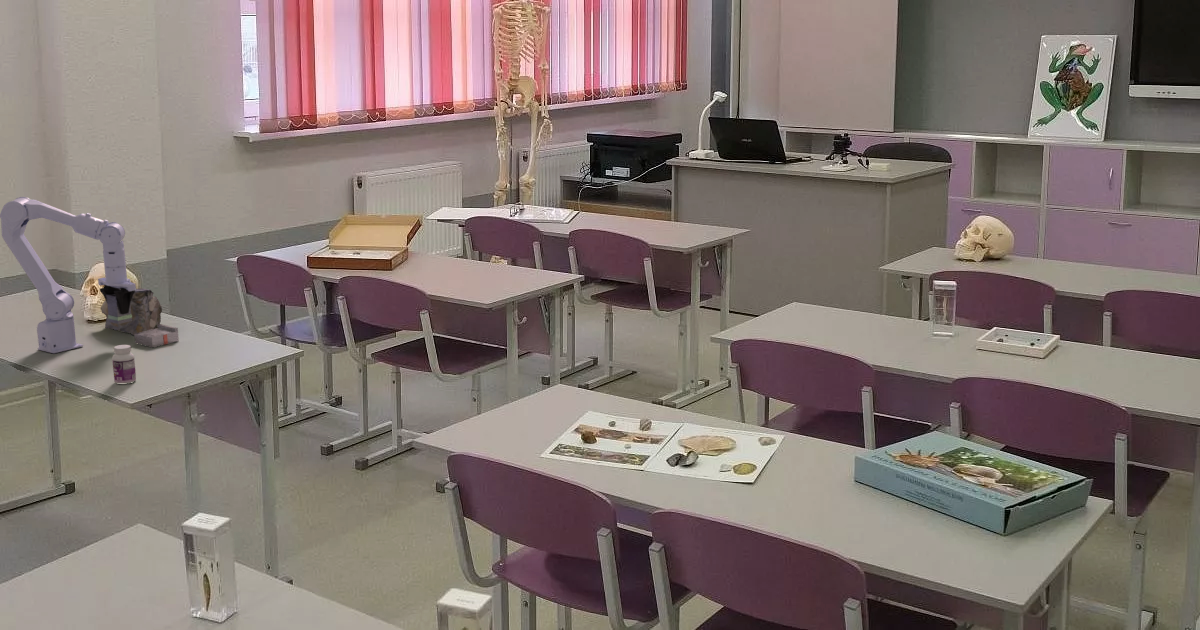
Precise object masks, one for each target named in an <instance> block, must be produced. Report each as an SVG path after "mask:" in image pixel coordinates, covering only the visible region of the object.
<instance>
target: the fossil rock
mask: <svg viewBox="0 0 1200 630" xmlns="http://www.w3.org/2000/svg"><path fill="white" fill-rule="evenodd" d="M154 294H155V293H154V292H153V291H152V290H151V289H148V288H143V287H140V288H136V290H135V293H134V294H133V296H132V299H131V303H130V305H131V314H132V321H130V322H125V323H121V324H116V323H112V322H109V319H108V305H107V302H106V299H104V300H105V301H103V303H102V305H101V306H100V311H101V313H102V314H104V315H105V317H106V320H105V325H104V328H105V329H109V328H110V330H113V329H114V331H117V330H119V331H118V332H120V331H122V332H121V333H126V332H128V333H127V334H130V333H131V335H132V336H133V335H134V334H135V333H139V332H143V331H147V330H152V329H156V328H158V326H157V325H158V324H161V318H162V317H161V316H162V315H161V314H162V312H163V308H162V305H161V302H160V301H159V299H158V298H157V296H154Z"/></svg>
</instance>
